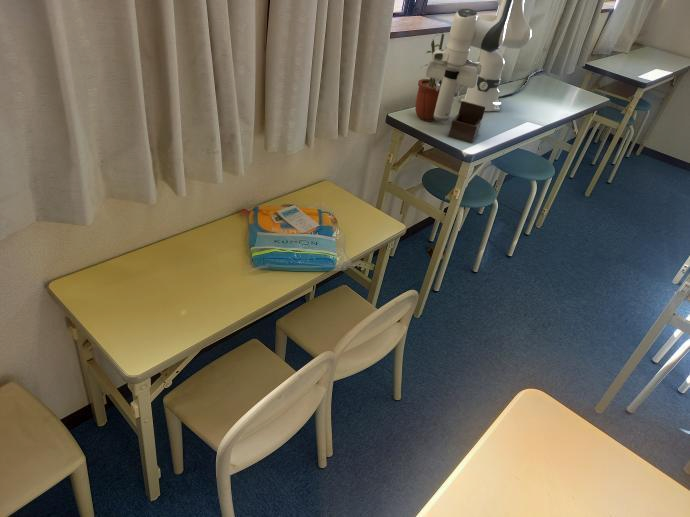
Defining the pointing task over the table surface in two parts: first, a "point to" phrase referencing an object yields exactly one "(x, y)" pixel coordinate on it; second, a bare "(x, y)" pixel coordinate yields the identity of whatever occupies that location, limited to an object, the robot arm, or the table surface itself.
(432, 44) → the potted plant
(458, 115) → the brown hinged box
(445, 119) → the travel mug
